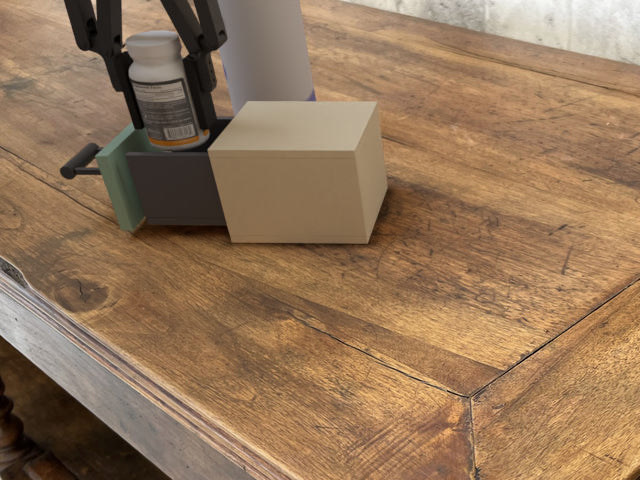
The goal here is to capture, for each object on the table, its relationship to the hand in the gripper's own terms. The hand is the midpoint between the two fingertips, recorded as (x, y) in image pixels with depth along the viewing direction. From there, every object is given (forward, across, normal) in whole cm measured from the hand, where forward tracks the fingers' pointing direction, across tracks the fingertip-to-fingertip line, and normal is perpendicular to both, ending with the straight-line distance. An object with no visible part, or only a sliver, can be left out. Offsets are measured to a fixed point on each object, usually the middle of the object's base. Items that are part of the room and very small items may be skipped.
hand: (176, 123), depth 78 cm
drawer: (+9, -2, 0) cm, 9 cm away
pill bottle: (+2, 0, 0) cm, 2 cm away
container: (+10, +3, +21) cm, 23 cm away
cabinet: (+10, +12, 0) cm, 15 cm away
